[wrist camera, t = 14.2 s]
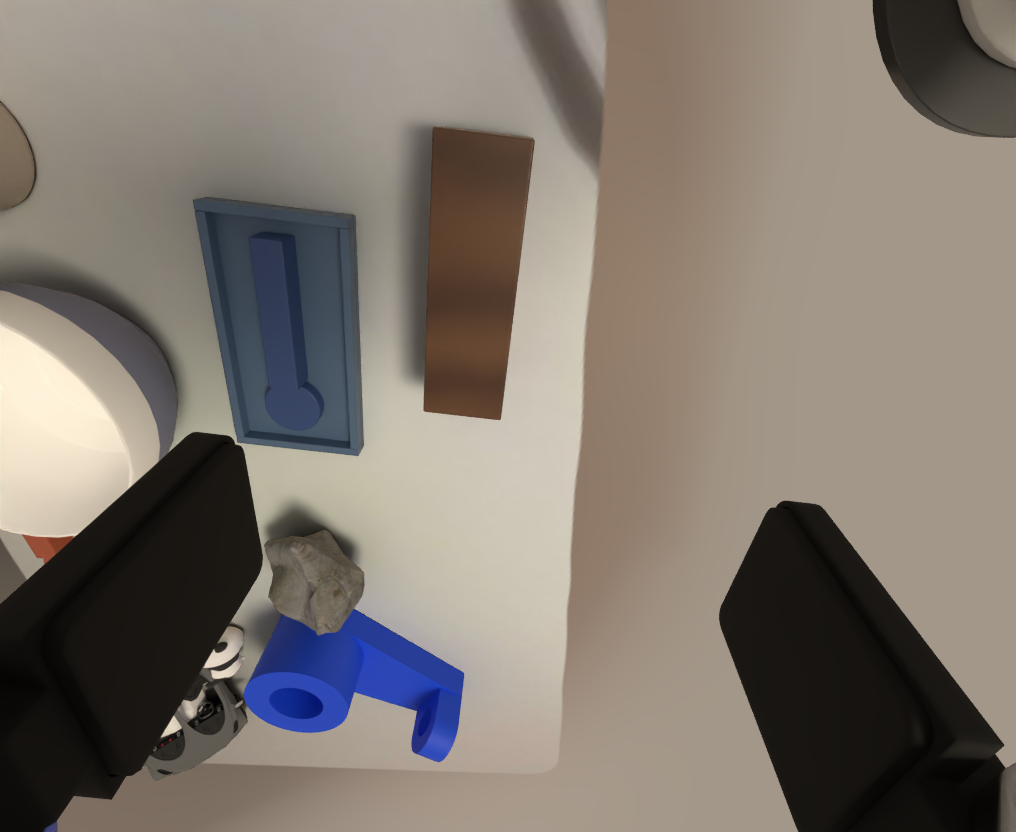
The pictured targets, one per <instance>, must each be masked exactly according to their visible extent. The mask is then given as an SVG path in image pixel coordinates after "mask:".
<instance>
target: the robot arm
mask: <svg viewBox="0 0 1016 832" xmlns="http://www.w3.org/2000/svg"><path fill="white" fill-rule="evenodd" d="M957 1H958V5H959V8H960V12H961V16H962V20H963V22H964V24H965V26H966V28H967V29H968V31H969V33H970V35H971V37H972V38H973V40H974V42H975V43H976V44H977V45H978V46H979V47H980V48H981V49H982V50H983V51H984V52H985V53H986V54H987V55H988V56H989V57H991V58H993V59H995V60H997V61H999V62H1001V63H1003V64H1005V65H1007V66H1009V67H1013V68H1016V0H957ZM262 562H263V554H262V549H261V543H260V538H259V532H258V527H257V521H256V515H255V510H254V504H253V499H252V493H251V488H250V482H249V476H248V471H247V465H246V460H245V454H244V451H243V448H242V447H241V446H239V445H235V442H234V440H233V439H232V438H231V437H230V436H227V435H218V434H209V433H201V432H194V433H191V434H189V435H188V436H187V437H185V438H184V439H183V440H182V441H181V442H180V443H179V444H178V445H177V446H175V447H174V448H173V449H172V450H171V451H170V452H169V453H168V454H167V455H165V456H164V457H163V458H162V459H161V460H160V461H159V462H158V463H157V464H155V465H154V466H153V467H152V468H151V469H150V470H149V471H148V472H147V473H145V474H144V475H143V476H142V477H141V478H140V479H139V480H138V481H137V482H135V483H134V484H133V485H132V486H131V487H130V488H129V489H128V490H127V491H125V492H124V493H123V494H122V495H121V496H120V497H119V498H118V499H117V500H115V501H114V502H113V503H112V504H111V505H110V506H109V507H108V508H107V509H105V510H104V511H103V512H102V513H101V514H100V515H99V516H98V517H97V518H95V519H94V520H93V521H92V522H91V523H90V524H89V525H88V526H87V527H85V528H84V529H83V530H82V531H81V532H80V533H79V534H78V535H77V536H75V537H74V538H73V539H72V540H71V541H70V542H69V543H68V544H67V545H66V546H64V547H63V548H62V549H61V550H60V551H59V552H58V553H57V554H56V555H54V556H53V557H52V558H51V559H50V560H49V561H48V562H47V563H46V564H44V565H43V566H42V567H41V568H40V569H39V570H38V571H37V572H36V573H34V574H33V575H32V576H31V577H30V578H29V579H28V580H27V581H26V582H24V583H23V584H22V585H21V586H20V587H19V588H18V589H17V590H16V591H14V592H13V593H12V594H11V595H10V596H9V597H8V598H7V599H6V600H4V601H3V602H2V603H1V604H0V832H57V820H58V818H59V817H60V815H61V814H62V812H63V811H64V809H65V808H66V806H67V805H68V804H69V802H70V801H71V799H72V798H73V796H81V797H92V798H102V799H112V798H113V796H114V795H115V793H116V792H117V790H118V789H119V787H120V785H121V784H122V782H123V780H124V779H125V777H126V776H132V775H134V774H135V773H137V772H138V771H139V770H140V769H141V768H142V766H143V765H144V763H145V762H146V761H147V759H148V757H149V756H150V754H151V752H152V751H153V749H154V747H155V746H156V744H157V742H158V741H159V739H160V738H161V736H162V734H163V733H164V731H165V729H166V728H167V726H168V724H169V723H170V721H171V719H172V718H173V716H174V714H175V713H176V711H177V709H178V708H179V706H180V705H181V703H182V701H183V700H184V698H185V696H186V695H187V693H188V691H189V690H190V688H191V686H192V685H193V683H194V681H195V680H196V678H197V676H198V675H199V673H200V672H201V670H202V668H203V667H204V665H205V663H206V662H207V660H208V658H209V657H210V655H211V653H212V652H213V650H214V648H215V647H216V645H217V643H218V642H219V640H220V639H221V637H222V635H223V634H224V632H225V630H226V629H227V627H228V625H229V624H230V622H231V620H232V619H233V617H234V615H235V614H236V612H237V610H238V609H239V607H240V606H241V604H242V602H243V601H244V599H245V597H246V596H247V594H248V592H249V591H250V589H251V587H252V586H253V584H254V582H255V581H256V579H257V577H258V575H259V573H260V571H261V567H262ZM719 621H720V626H721V629H722V632H723V634H724V637H725V640H726V643H727V645H728V648H729V651H730V653H731V656H732V658H733V661H734V664H735V667H736V669H737V672H738V674H739V677H740V680H741V682H742V685H743V688H744V690H745V693H746V695H747V698H748V701H749V703H750V706H751V709H752V711H753V714H754V717H755V719H756V722H757V725H758V727H759V730H760V733H761V735H762V738H763V740H764V743H765V746H766V748H767V751H768V753H769V756H770V759H771V761H772V764H773V767H774V769H775V772H776V775H777V777H778V780H779V783H780V785H781V788H782V791H783V793H784V796H785V799H786V801H787V804H788V806H789V809H790V812H791V814H792V817H793V820H794V822H795V825H796V827H797V830H798V832H1016V763H1014V764H1012V765H1011V766H1009V767H1007V768H1005V767H1004V765H1003V764H1002V763H1001V761H1000V760H999V759H998V757H997V756H996V755H995V753H996V752H998V751H999V750H1000V749H1001V748H1002V747H1003V746H1004V744H1003V743H1002V741H1001V740H1000V739H999V737H998V736H997V735H996V733H995V732H994V731H993V730H992V728H991V727H990V726H989V724H988V723H987V722H986V720H985V719H984V718H983V716H982V715H981V714H980V713H979V711H978V710H977V709H976V707H975V706H974V705H973V703H972V702H971V701H970V699H969V698H968V697H967V695H966V694H965V693H964V692H963V690H962V689H961V688H960V686H959V685H958V684H957V683H956V681H955V680H954V679H953V677H952V676H951V675H950V673H949V672H948V671H947V669H946V668H945V667H944V665H943V664H942V663H941V662H940V660H939V659H938V658H937V656H936V655H935V654H934V653H933V651H932V650H931V648H930V647H929V646H928V645H927V643H926V642H925V641H924V640H923V638H922V637H921V635H920V634H919V633H918V631H917V630H916V629H915V628H914V626H913V625H912V624H911V622H910V621H909V620H908V619H907V617H906V616H905V614H904V613H903V612H902V611H901V609H900V608H899V607H898V605H897V604H896V603H895V601H894V600H893V599H892V598H891V596H890V595H889V594H888V592H887V591H886V590H885V588H884V587H883V586H882V584H881V583H880V582H879V580H878V579H877V578H876V577H875V575H874V574H873V573H872V571H871V570H870V569H869V567H868V566H867V565H866V563H865V562H864V561H863V560H862V558H861V557H860V556H859V554H858V553H857V552H856V551H855V549H854V548H853V546H852V545H851V544H850V543H849V541H848V540H847V539H846V538H845V536H844V535H843V533H842V532H841V531H840V529H839V528H838V527H837V526H836V524H835V523H834V522H833V520H832V519H831V518H830V517H829V515H828V514H827V513H826V511H825V510H824V509H823V508H822V507H821V506H819V505H816V504H810V503H802V502H793V501H782V502H780V503H779V504H778V505H777V507H776V508H770V509H769V510H768V511H767V513H766V514H765V516H764V518H763V520H762V523H761V525H760V527H759V529H758V531H757V533H756V535H755V537H754V539H753V541H752V543H751V545H750V547H749V549H748V551H747V554H746V556H745V558H744V560H743V562H742V564H741V566H740V568H739V570H738V572H737V574H736V576H735V578H734V580H733V582H732V585H731V587H730V589H729V591H728V593H727V595H726V597H725V599H724V601H723V603H722V605H721V608H720V613H719Z"/></svg>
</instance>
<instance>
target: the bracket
mask: <svg viewBox="0 0 1016 832" xmlns="http://www.w3.org/2000/svg"><path fill="white" fill-rule="evenodd" d="M463 680H464V673H463V672H461V671H459V670H457V669H456V668H454V667H452V666H451V665H449V664H447V663H445V662H444V661H442V660H440V659H439V658H437V657H435V656H433V655H432V654H430V653H428V652H427V651H425V650H423V649H421V648H420V647H418V646H416V645H415V644H413V643H411V642H409V641H408V640H406V639H404V638H403V637H401V636H399V635H397V634H396V633H394V632H392V631H390V630H389V629H387V628H385V627H384V626H382V625H380V624H378V623H377V622H375V621H373V620H372V619H370V618H368V617H366V616H365V615H363V614H361V613H360V612H358V611H356V610H354V609H353V611H352V612H351V614H350V615H349V617H348V618H347V620H346V621H345V622H344V623H343V625H342V627H341V629H340V630H339V631H338V632H335V633H324V634H321V635H319V636H318V635H317V634H316V631H314V630H312V629H311V628H309V627H308V626H306V625H305V624H303V623H302V622H300V621H297V620H294V619H292V618H289V617H287V616H285V615H283V614H282V616H281V618H280V620H279V622H278V624H277V626H276V628H275V630H274V632H273V634H272V636H271V638H270V640H269V642H268V644H267V646H266V648H265V650H264V652H263V654H262V656H261V658H260V660H259V662H258V664H257V666H256V668H255V670H254V672H253V674H252V676H251V678H250V680H249V682H248V684H247V686H246V688H245V691H244V699H245V702H246V704H247V706H248V707H249V708H250V710H251V711H252V712H253V713H254V714H255V715H257V716H258V717H259V718H261V719H262V720H264V721H266V722H267V723H270V724H272V725H274V726H276V727H279V728H282V729H286V730H290V731H296V732H306V733H313V732H322V731H327V730H330V729H333V728H335V727H337V726H339V725H340V724H341V723H342V722H343V721H344V720H345V719H346V717H347V714H348V711H349V708H350V705H351V701H352V698H353V695H354V692H356V693H359V694H363V695H366V696H369V697H372V698H376V699H379V700H382V701H386V702H389V703H392V704H395V705H399V706H402V707H405V708H409V709H412V710H415V711H417V715H416V720H415V725H414V731H413V736H412V751H413V752H414V753H416V754H418V755H421V756H423V757H426V758H429V759H431V760H434V761H436V762H441V761H442V760H443V759H444V758H445V757H446V756H447V755H448V753H449V751H450V750H451V748H452V746H453V743H454V741H455V738H456V734H457V730H458V724H459V716H460V707H461V698H462V689H463Z"/></svg>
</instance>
